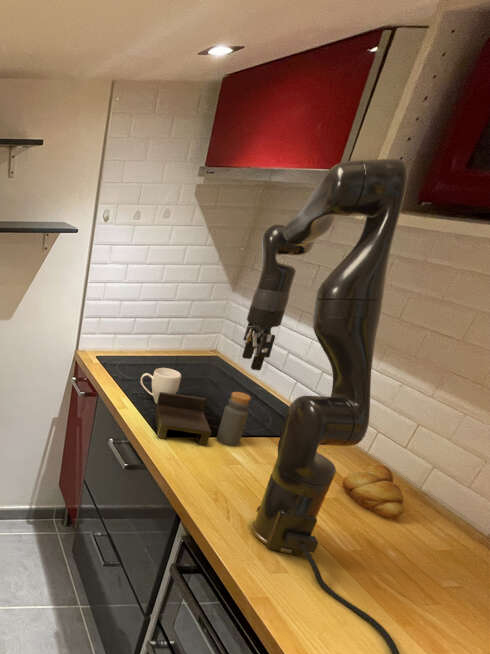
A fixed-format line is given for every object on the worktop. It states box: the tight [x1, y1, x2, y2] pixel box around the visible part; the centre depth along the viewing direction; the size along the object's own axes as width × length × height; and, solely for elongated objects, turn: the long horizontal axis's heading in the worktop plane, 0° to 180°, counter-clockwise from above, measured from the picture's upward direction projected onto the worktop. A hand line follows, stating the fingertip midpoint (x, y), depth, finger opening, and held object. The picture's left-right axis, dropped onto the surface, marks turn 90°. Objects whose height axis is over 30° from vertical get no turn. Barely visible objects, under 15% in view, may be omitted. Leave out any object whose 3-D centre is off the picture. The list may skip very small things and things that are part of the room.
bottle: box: [216, 391, 252, 447], centre depth 128 cm, size 6×6×15 cm
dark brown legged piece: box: [153, 392, 212, 447], centre depth 133 cm, size 14×13×9 cm
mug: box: [140, 367, 182, 405], centre depth 151 cm, size 12×8×11 cm
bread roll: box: [342, 464, 405, 519], centre depth 105 cm, size 13×10×8 cm
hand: (250, 363), depth 121 cm, fingers open, 8 cm apart
